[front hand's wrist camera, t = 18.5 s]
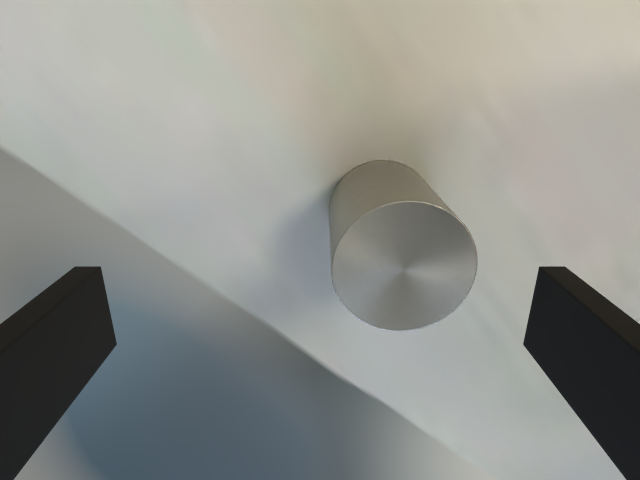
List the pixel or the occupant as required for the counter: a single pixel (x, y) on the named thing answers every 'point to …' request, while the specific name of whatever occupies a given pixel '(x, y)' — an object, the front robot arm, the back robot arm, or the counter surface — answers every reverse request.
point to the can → (397, 248)
